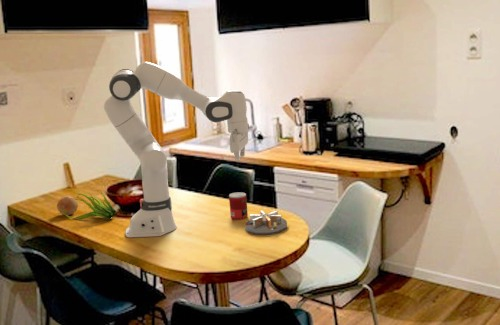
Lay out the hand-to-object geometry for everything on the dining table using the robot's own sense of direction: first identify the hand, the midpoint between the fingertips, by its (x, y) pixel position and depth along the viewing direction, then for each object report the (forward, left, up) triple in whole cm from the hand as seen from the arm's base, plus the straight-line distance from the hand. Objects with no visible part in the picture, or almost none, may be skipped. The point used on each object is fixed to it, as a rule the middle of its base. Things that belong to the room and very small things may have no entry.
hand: (240, 158), depth 230 cm
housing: (+8, -11, -29) cm, 32 cm away
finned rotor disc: (+8, -11, -27) cm, 30 cm away
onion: (-86, +40, -29) cm, 99 cm away
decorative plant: (-76, +30, -29) cm, 87 cm away
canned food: (-2, +7, -29) cm, 30 cm away
